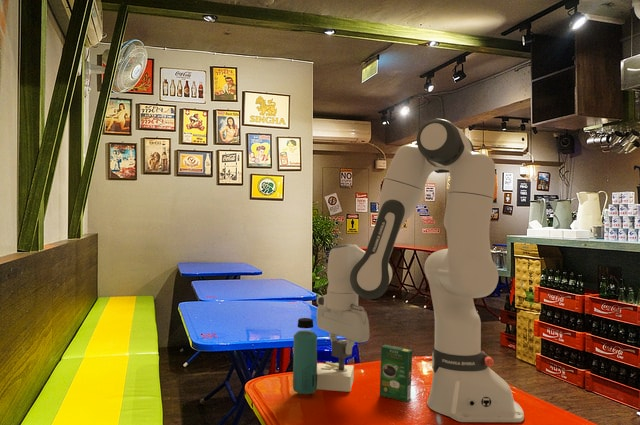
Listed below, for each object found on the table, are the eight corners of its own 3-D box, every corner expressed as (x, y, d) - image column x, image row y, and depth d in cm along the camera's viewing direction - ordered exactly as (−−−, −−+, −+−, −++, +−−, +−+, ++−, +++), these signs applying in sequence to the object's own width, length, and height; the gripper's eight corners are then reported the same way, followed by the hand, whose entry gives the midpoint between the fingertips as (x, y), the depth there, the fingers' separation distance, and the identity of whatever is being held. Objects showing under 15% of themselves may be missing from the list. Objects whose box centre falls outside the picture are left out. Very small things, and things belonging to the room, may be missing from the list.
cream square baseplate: (353, 378, 138) (354, 363, 138) (350, 391, 127) (350, 376, 128) (313, 375, 140) (313, 361, 140) (306, 388, 129) (306, 372, 129)
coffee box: (412, 399, 123) (413, 348, 123) (408, 403, 120) (408, 351, 120) (383, 393, 127) (384, 343, 127) (379, 396, 125) (380, 346, 125)
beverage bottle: (314, 401, 120) (315, 322, 121) (288, 398, 122) (290, 320, 122) (319, 392, 127) (320, 316, 127) (295, 389, 128) (296, 315, 128)
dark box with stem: (351, 369, 133) (352, 341, 133) (342, 372, 130) (342, 343, 130) (331, 363, 138) (331, 335, 139) (321, 366, 136) (322, 338, 136)
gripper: (375, 306, 126) (374, 359, 126) (330, 295, 143) (329, 341, 143) (356, 308, 123) (355, 362, 123) (313, 297, 140) (312, 344, 139)
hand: (341, 351), depth 133 cm, fingers closed on dark box with stem, 4 cm apart
